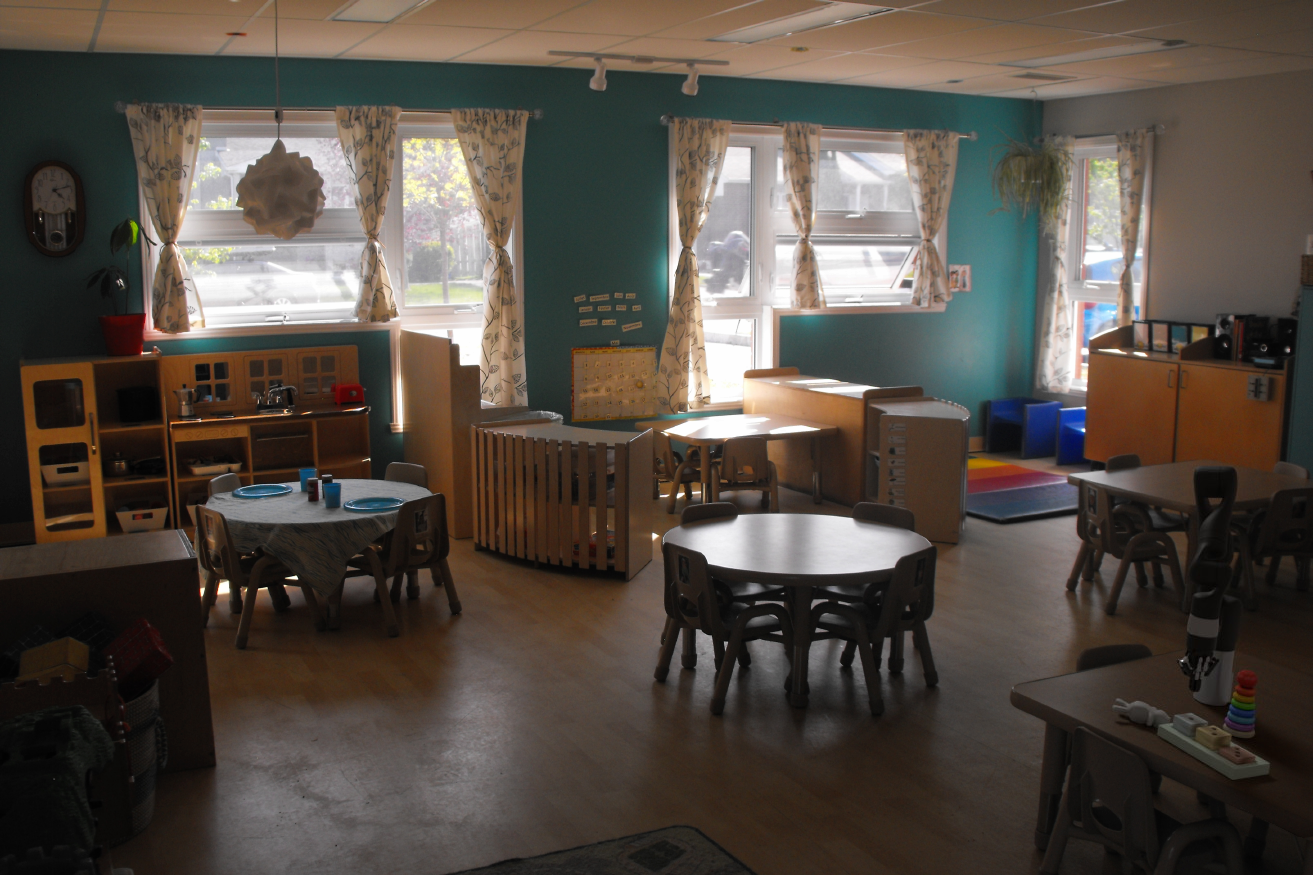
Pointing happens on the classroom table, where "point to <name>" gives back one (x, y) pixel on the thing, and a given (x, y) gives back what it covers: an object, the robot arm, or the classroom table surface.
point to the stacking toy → (1242, 707)
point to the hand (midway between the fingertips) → (1194, 690)
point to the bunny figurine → (1142, 713)
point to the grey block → (1188, 724)
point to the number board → (1213, 755)
